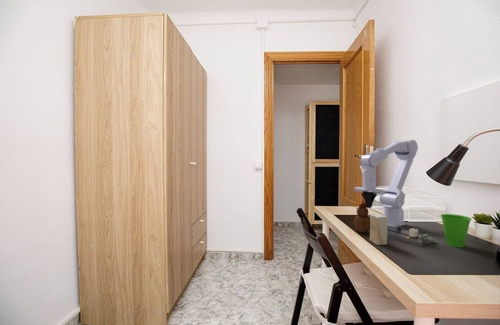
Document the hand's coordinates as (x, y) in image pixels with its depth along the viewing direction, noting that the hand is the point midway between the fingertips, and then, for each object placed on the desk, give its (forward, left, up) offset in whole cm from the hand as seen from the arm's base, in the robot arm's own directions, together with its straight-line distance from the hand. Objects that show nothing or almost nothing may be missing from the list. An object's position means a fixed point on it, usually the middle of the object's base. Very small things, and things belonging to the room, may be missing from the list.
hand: (369, 207), depth 112 cm
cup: (-9, +30, -10) cm, 33 cm away
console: (-1, +15, -10) cm, 18 cm away
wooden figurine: (+8, +2, -10) cm, 13 cm away
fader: (0, +19, -8) cm, 21 cm away
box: (+14, +14, -10) cm, 22 cm away
